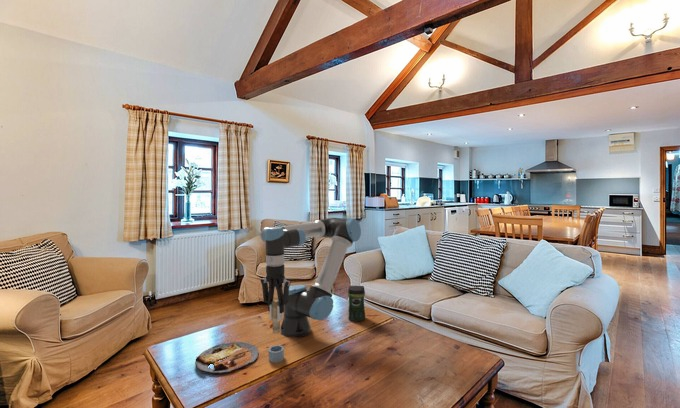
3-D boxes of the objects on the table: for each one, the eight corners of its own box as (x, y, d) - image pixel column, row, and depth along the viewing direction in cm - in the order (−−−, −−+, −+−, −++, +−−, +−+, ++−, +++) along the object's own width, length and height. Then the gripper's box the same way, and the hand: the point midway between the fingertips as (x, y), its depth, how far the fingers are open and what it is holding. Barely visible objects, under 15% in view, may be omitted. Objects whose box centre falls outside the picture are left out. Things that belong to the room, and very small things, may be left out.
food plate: (210, 384, 116) (210, 375, 116) (186, 361, 132) (186, 353, 132) (268, 359, 134) (268, 351, 134) (240, 342, 150) (240, 335, 150)
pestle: (275, 329, 134) (274, 299, 133) (281, 330, 133) (280, 300, 132) (271, 332, 131) (270, 302, 130) (277, 333, 130) (277, 303, 129)
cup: (273, 355, 136) (273, 344, 136) (286, 357, 134) (286, 346, 134) (265, 362, 130) (265, 351, 130) (278, 365, 128) (278, 353, 128)
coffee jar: (365, 316, 178) (365, 284, 177) (365, 322, 170) (365, 288, 169) (348, 315, 179) (348, 283, 178) (347, 321, 171) (347, 287, 170)
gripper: (253, 265, 130) (254, 320, 131) (287, 268, 124) (288, 326, 125) (263, 261, 137) (264, 313, 138) (296, 263, 131) (297, 318, 133)
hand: (276, 319), depth 132 cm, fingers closed on pestle, 3 cm apart
